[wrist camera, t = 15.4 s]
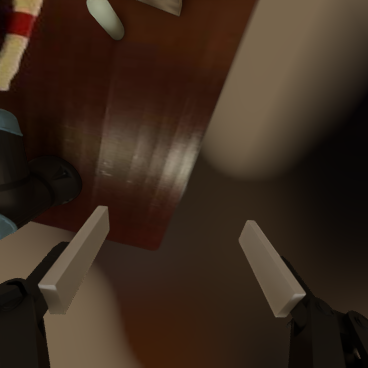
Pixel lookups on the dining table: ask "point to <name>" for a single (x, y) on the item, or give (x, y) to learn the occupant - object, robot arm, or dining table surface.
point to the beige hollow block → (166, 5)
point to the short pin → (106, 18)
